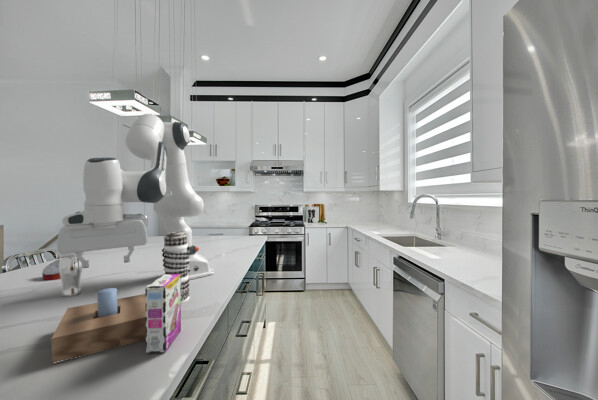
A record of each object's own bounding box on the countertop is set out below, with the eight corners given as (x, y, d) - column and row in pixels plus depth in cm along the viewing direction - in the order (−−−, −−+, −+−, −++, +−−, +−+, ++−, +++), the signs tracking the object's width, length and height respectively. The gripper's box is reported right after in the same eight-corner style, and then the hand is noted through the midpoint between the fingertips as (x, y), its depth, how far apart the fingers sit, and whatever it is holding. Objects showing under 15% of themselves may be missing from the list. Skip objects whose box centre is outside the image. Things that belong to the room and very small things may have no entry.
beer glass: (69, 297, 103) (68, 258, 103) (55, 296, 104) (53, 258, 104) (87, 291, 110) (86, 254, 109) (73, 290, 111) (72, 254, 111)
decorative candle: (170, 295, 104) (169, 230, 103) (194, 295, 104) (193, 230, 103) (157, 305, 95) (156, 234, 94) (183, 305, 94) (182, 233, 94)
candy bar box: (166, 353, 66) (165, 286, 65) (145, 354, 65) (143, 287, 65) (182, 330, 77) (181, 273, 77) (164, 331, 76) (162, 273, 76)
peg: (118, 327, 79) (117, 286, 79) (117, 334, 75) (116, 291, 75) (99, 331, 77) (97, 290, 76) (97, 339, 73) (96, 294, 72)
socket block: (146, 311, 90) (146, 293, 89) (151, 338, 73) (150, 316, 73) (68, 328, 79) (67, 308, 79) (52, 364, 62) (51, 338, 62)
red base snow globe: (70, 285, 132) (75, 268, 130) (42, 289, 123) (47, 271, 121) (64, 271, 138) (69, 255, 136) (37, 274, 129) (42, 256, 127)
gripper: (146, 212, 83) (148, 257, 84) (59, 217, 72) (61, 268, 73) (148, 213, 78) (150, 261, 78) (54, 218, 67) (56, 274, 67)
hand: (106, 264), depth 75 cm, fingers open, 8 cm apart
